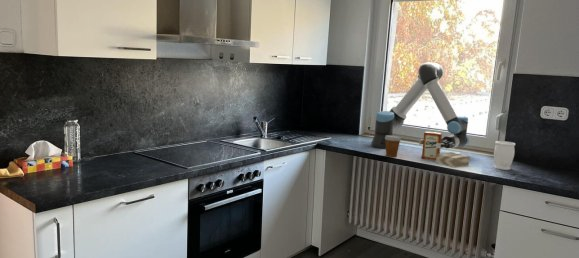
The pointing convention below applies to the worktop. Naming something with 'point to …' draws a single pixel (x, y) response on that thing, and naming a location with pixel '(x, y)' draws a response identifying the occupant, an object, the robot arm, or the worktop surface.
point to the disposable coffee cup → (392, 145)
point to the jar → (503, 154)
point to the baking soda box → (431, 145)
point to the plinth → (452, 159)
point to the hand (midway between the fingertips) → (428, 144)
